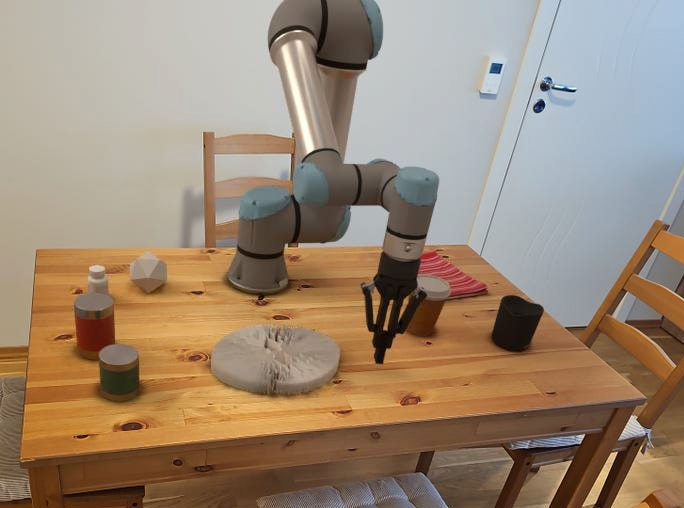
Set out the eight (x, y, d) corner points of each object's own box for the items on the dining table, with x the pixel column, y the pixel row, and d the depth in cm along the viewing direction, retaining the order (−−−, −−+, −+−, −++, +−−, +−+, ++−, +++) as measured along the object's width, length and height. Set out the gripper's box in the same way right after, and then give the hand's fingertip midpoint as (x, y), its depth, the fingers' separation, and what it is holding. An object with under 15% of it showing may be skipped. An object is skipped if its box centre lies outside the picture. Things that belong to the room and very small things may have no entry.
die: (174, 294, 152) (174, 252, 153) (152, 288, 144) (151, 244, 145) (145, 297, 156) (145, 256, 156) (121, 291, 147) (121, 249, 148)
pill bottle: (112, 297, 146) (111, 266, 142) (101, 305, 142) (100, 274, 138) (95, 293, 147) (94, 262, 143) (84, 301, 143) (82, 269, 139)
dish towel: (434, 258, 187) (436, 249, 186) (488, 294, 170) (491, 285, 169) (386, 264, 180) (388, 255, 178) (438, 302, 163) (441, 293, 161)
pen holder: (499, 353, 144) (512, 314, 139) (482, 331, 152) (494, 294, 146) (537, 353, 146) (551, 315, 140) (518, 332, 154) (531, 295, 148)
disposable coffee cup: (439, 343, 145) (452, 296, 139) (397, 334, 146) (408, 287, 140) (439, 323, 153) (451, 278, 146) (399, 315, 154) (410, 270, 148)
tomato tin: (82, 339, 130) (78, 290, 124) (118, 341, 131) (116, 294, 125) (73, 358, 124) (69, 308, 118) (111, 361, 125) (109, 312, 119)
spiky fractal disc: (192, 345, 132) (192, 334, 131) (309, 326, 145) (310, 315, 143) (235, 408, 116) (236, 396, 115) (362, 380, 129) (365, 369, 127)
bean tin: (105, 378, 120) (103, 342, 115) (142, 381, 120) (141, 345, 116) (97, 400, 114) (94, 363, 110) (136, 403, 114) (135, 366, 110)
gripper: (370, 259, 115) (349, 368, 127) (440, 265, 116) (412, 372, 129) (364, 243, 121) (344, 348, 134) (431, 249, 122) (405, 352, 135)
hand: (378, 360), depth 131 cm, fingers closed
